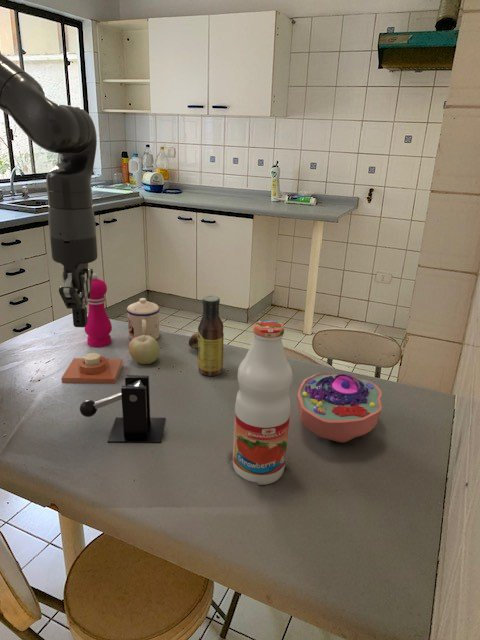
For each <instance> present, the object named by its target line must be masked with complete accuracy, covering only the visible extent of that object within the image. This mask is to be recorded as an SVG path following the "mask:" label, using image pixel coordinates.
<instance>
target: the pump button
mask: <svg viewBox="0 0 480 640" xmlns="http://www.w3.org/2000/svg"><path fill="white" fill-rule="evenodd" d="M100 356H101V354H100V353H98V352H89V353H86V354H85V355H84V356H83V358H84V360H85V365H91V366H93V365H97V364H99V363H100V362H101V360H100Z"/></svg>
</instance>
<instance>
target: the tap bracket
mask: <svg viewBox="0 0 480 640" xmlns="http://www.w3.org/2000/svg"><path fill="white" fill-rule="evenodd" d="M138 380H141V382H142V383H143V385H144V386H127V385H128V384H131V383H133V382H136V381H138ZM124 384H125V385H121V387H120V392H121V395H122V399H121V411H122V416H121V417H120V416H119V417H118V416H117V417H115V419H114V422H113V425H112V427H111V431H110V433H109V436H108V439H107V443H108V444H162V441H163V435H164V428H165V424H166V417H151V395H150V393H151V392H150V391H151V390H150V375H146V374H145V375H137V374H136V375H135V374H126V375H125V377H124Z"/></svg>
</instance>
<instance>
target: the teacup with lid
mask: <svg viewBox="0 0 480 640" xmlns="http://www.w3.org/2000/svg"><path fill="white" fill-rule="evenodd" d="M126 312H127V324H128V328H127V329H128V338H129V340H131V341H132V340H133V339H134V338H136V337H138V336H142V335H145V334H147V335H149V336H151V337H153V338H154V339H155V340H156V341H157V340H158V339H159V337H160V306H159V305H158V304H157V303H155V302H151V301H148V300H147V298H146V297H141V298H140V297H139V300H138V301H136V302H133V303H130V304H129V305H128V306H127V308H126Z"/></svg>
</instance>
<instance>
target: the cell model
mask: <svg viewBox="0 0 480 640" xmlns="http://www.w3.org/2000/svg"><path fill="white" fill-rule="evenodd" d="M382 396H383V392H382V390H381V388H380V387H379V386H378V385H377V384H375V383H374V382H372V381H370V380H369V379H367V378H366V379H365V378H362V377H359V376H356V375H352V374H350V373H334V372H318V373H316V374H313V375H311V376H309V377H307V378H305V379H303V381H302V383H301V384H300V385H299V387H298V390H297V397H296V400H297V407H298V411H299V414H300V415H299V419H300V422H301V424H302V425H303V427H305V428H306V429H307V430H308V431H310V432H311V433H313V434H314V435H316V436H318V437H320V438H322V439H325V440H329V441H333V442H336V443H341V444H342V443H343V444H344V443H348V442H350V441H351V440H353V439H355V438H359V437H362V436H364V435H367V434H368V433H370V432H371V431H372V430H373V429H374V428H375V427H376V426H377V425H378V422H379V418H380V415H381V412H382V409H383V407H382V402H381V399H382Z"/></svg>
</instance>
